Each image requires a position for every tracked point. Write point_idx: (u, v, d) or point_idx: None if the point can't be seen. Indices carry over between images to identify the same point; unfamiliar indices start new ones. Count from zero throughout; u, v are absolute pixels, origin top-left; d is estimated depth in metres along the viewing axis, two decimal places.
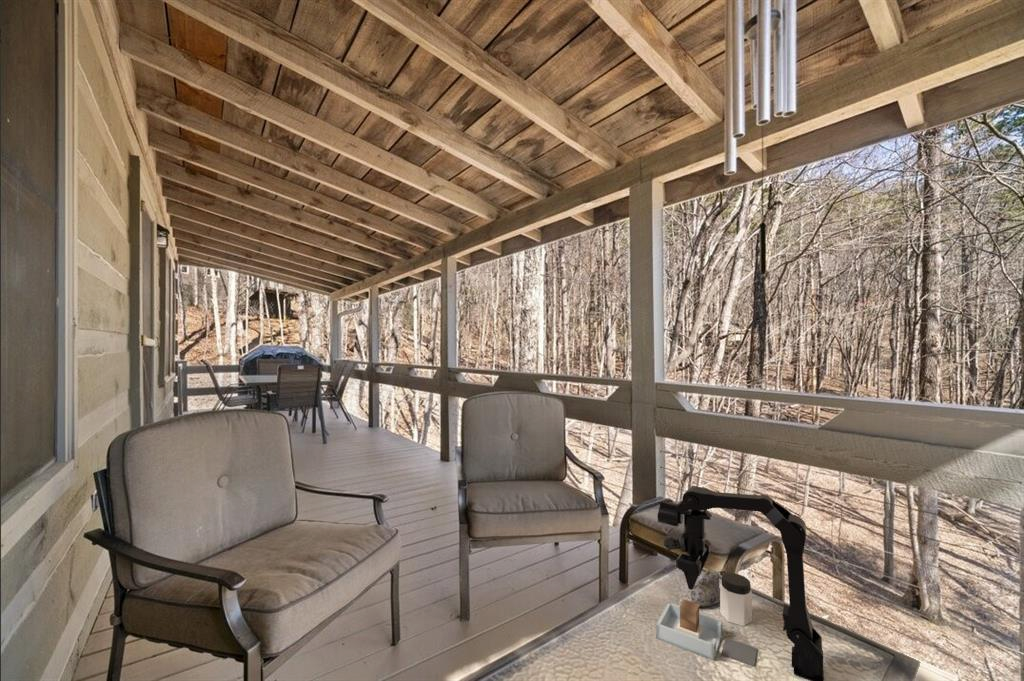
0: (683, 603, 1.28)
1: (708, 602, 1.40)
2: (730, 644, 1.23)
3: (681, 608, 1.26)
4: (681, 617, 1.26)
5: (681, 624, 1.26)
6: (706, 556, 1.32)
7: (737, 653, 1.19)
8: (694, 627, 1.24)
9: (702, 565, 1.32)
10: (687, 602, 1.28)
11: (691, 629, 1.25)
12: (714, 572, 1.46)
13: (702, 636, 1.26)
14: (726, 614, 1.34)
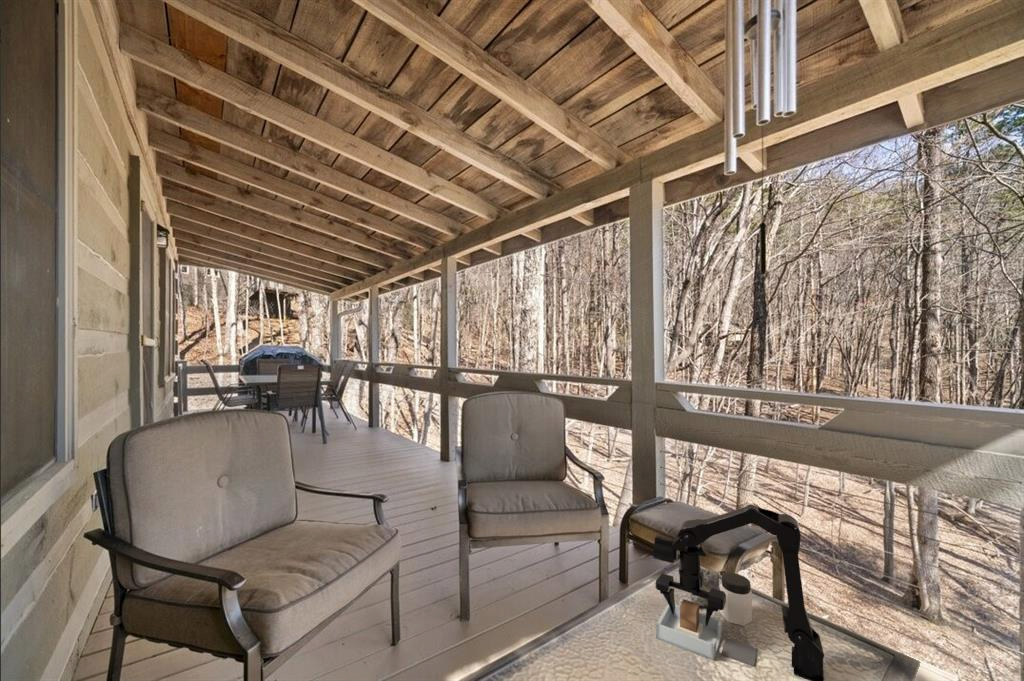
0: (683, 603, 1.28)
1: None
2: (730, 644, 1.23)
3: (681, 608, 1.26)
4: (681, 617, 1.26)
5: (681, 624, 1.26)
6: None
7: (737, 653, 1.19)
8: (694, 627, 1.24)
9: (706, 615, 1.23)
10: (687, 602, 1.28)
11: (691, 629, 1.25)
12: (714, 572, 1.47)
13: (702, 636, 1.26)
14: (726, 614, 1.34)
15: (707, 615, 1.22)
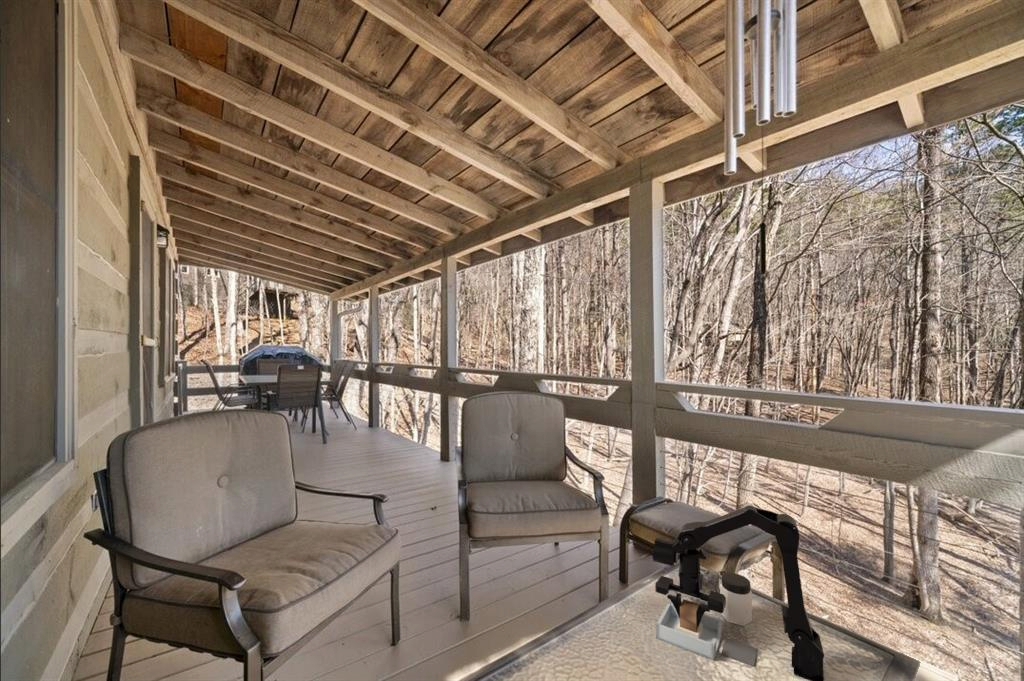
0: (683, 603, 1.28)
1: None
2: (730, 644, 1.23)
3: (681, 608, 1.26)
4: (681, 617, 1.26)
5: (681, 624, 1.26)
6: (698, 607, 1.23)
7: (737, 653, 1.19)
8: (694, 627, 1.24)
9: None
10: (687, 602, 1.28)
11: (691, 629, 1.25)
12: (714, 572, 1.47)
13: (702, 636, 1.26)
14: (726, 614, 1.34)
15: (699, 615, 1.24)
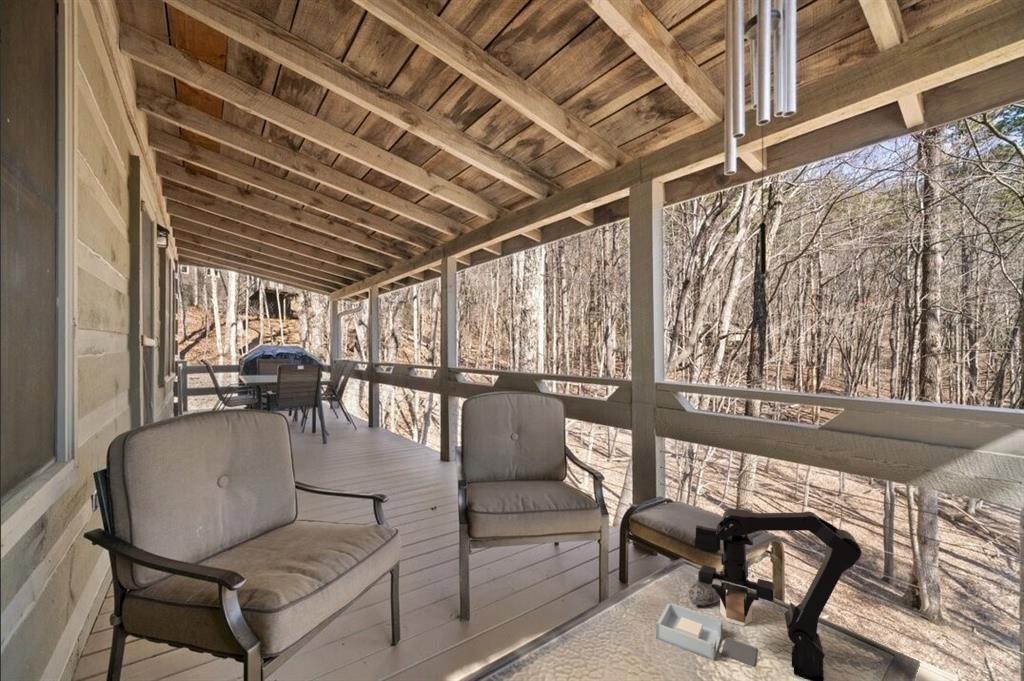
0: (729, 593, 1.22)
1: (706, 601, 1.41)
2: (730, 644, 1.23)
3: (727, 597, 1.20)
4: (727, 607, 1.20)
5: (727, 614, 1.20)
6: (746, 596, 1.17)
7: (737, 653, 1.19)
8: (742, 617, 1.18)
9: (745, 605, 1.18)
10: (732, 591, 1.22)
11: (739, 619, 1.18)
12: None
13: (702, 636, 1.26)
14: None
15: (747, 604, 1.18)
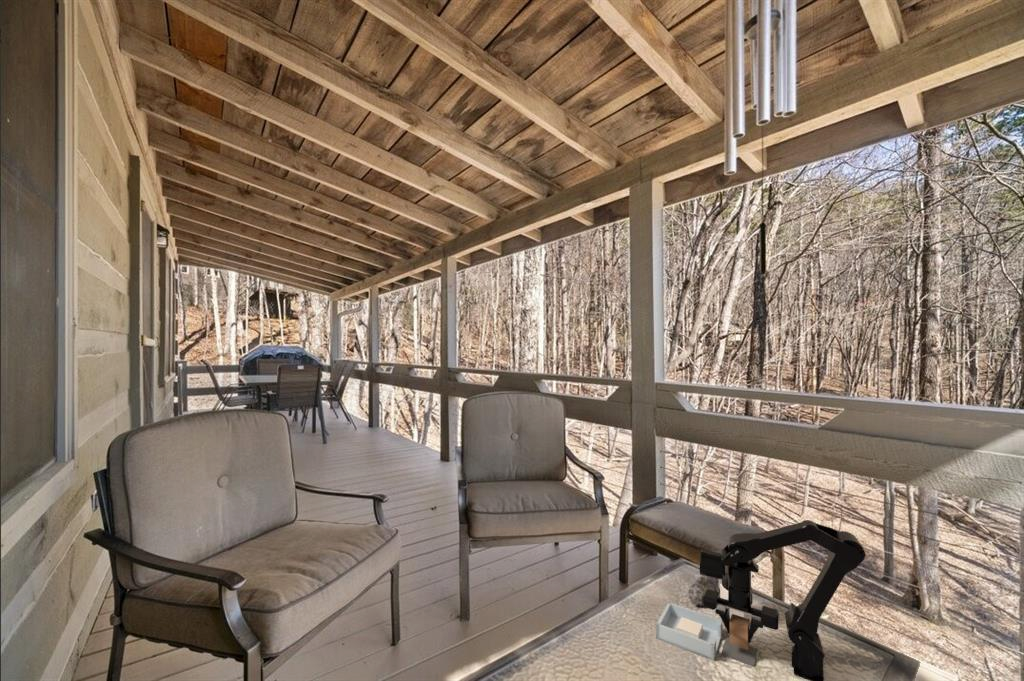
0: (733, 619, 1.21)
1: None
2: (730, 644, 1.23)
3: (731, 624, 1.20)
4: (731, 633, 1.20)
5: (731, 640, 1.19)
6: (750, 623, 1.17)
7: (737, 653, 1.19)
8: (746, 644, 1.17)
9: (749, 632, 1.18)
10: (736, 617, 1.22)
11: (742, 646, 1.18)
12: None
13: (702, 636, 1.26)
14: None
15: (750, 632, 1.17)
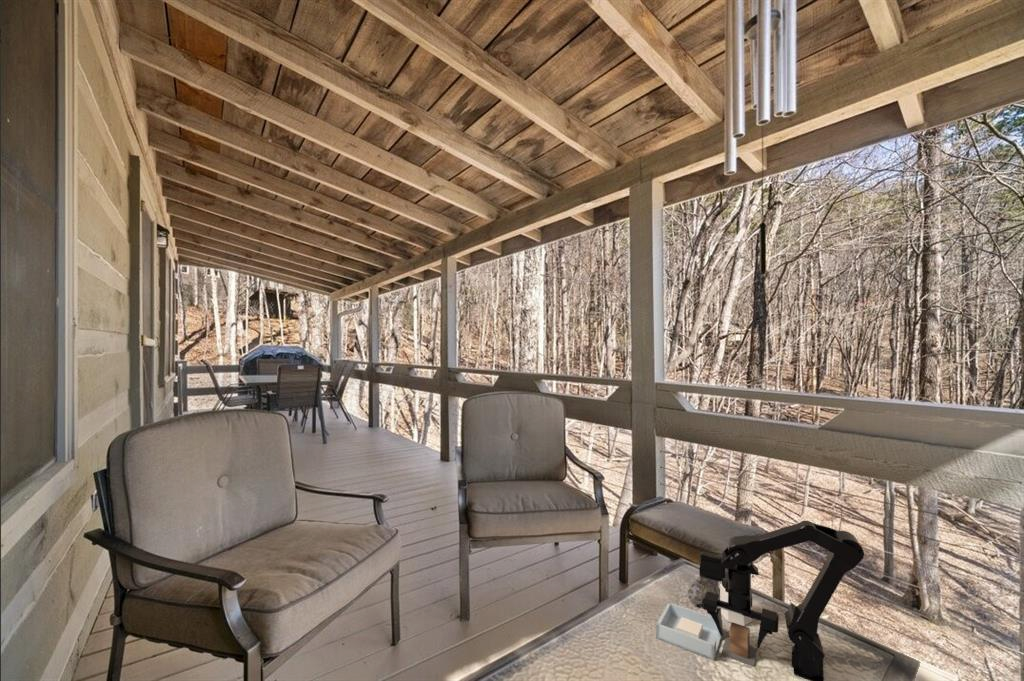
0: (733, 627, 1.21)
1: None
2: None
3: (731, 632, 1.20)
4: (731, 642, 1.19)
5: (731, 649, 1.19)
6: (759, 629, 1.16)
7: None
8: (745, 653, 1.17)
9: (758, 637, 1.17)
10: (736, 625, 1.22)
11: (742, 655, 1.18)
12: None
13: (702, 636, 1.26)
14: (726, 614, 1.34)
15: (759, 637, 1.16)
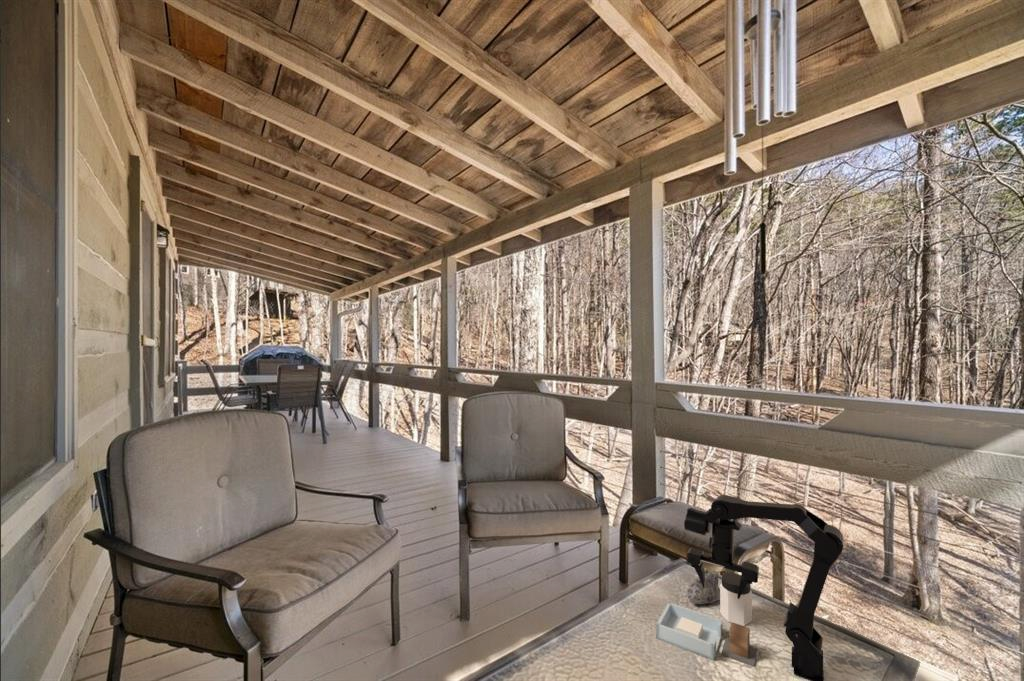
0: (733, 627, 1.21)
1: (705, 600, 1.41)
2: None
3: (731, 632, 1.20)
4: (731, 642, 1.19)
5: (731, 649, 1.19)
6: (740, 580, 1.21)
7: None
8: (745, 653, 1.17)
9: None
10: (736, 625, 1.22)
11: (742, 655, 1.18)
12: (713, 571, 1.47)
13: (702, 636, 1.26)
14: (726, 614, 1.34)
15: (740, 588, 1.22)
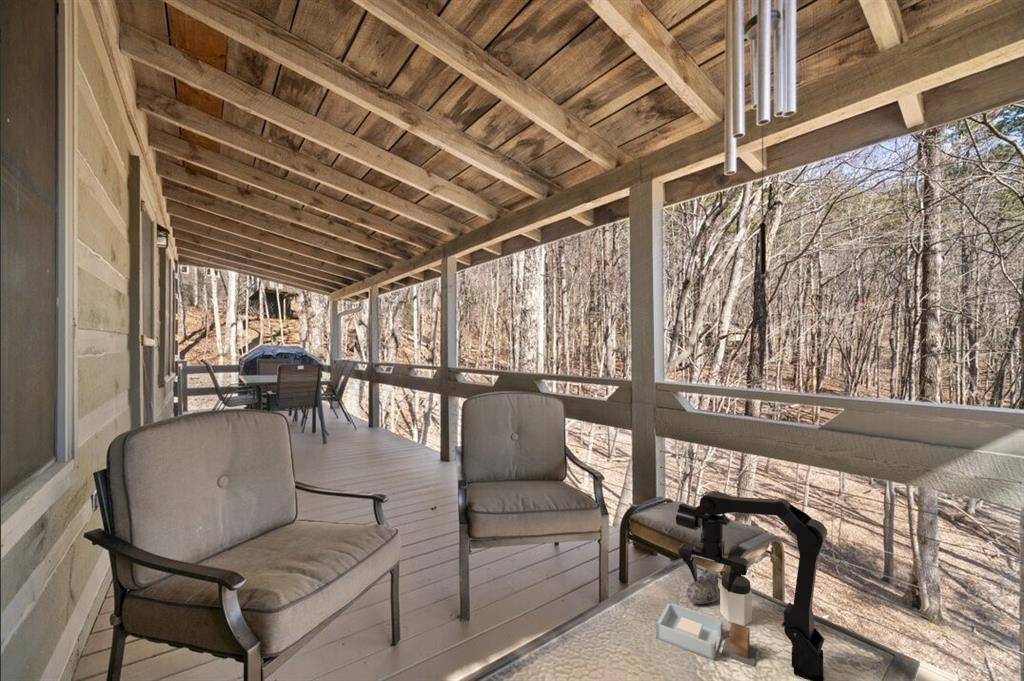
0: (733, 627, 1.21)
1: (704, 600, 1.41)
2: None
3: (731, 632, 1.20)
4: (731, 642, 1.19)
5: (731, 649, 1.19)
6: None
7: None
8: (745, 653, 1.17)
9: None
10: (736, 625, 1.22)
11: (742, 655, 1.18)
12: (713, 571, 1.47)
13: (702, 636, 1.26)
14: (726, 614, 1.34)
15: (730, 581, 1.25)
